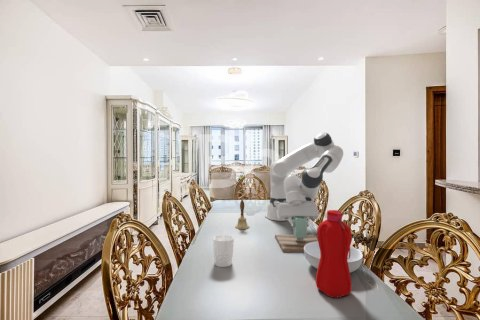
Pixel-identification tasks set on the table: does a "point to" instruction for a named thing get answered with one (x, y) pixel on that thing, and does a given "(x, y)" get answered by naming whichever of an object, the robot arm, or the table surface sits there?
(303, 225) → the sleeve
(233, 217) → the table surface
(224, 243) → the white cup
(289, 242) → the board
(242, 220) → the hand bell
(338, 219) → the water bottle
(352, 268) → the serving bowl
